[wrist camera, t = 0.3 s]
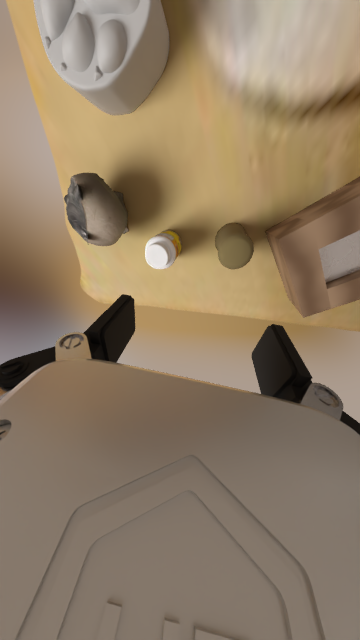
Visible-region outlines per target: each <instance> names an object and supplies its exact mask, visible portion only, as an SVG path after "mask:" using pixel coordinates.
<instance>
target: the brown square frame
mask: <svg viewBox="0 0 360 640" xmlns="http://www.w3.org/2000/svg"><path fill="white" fill-rule="evenodd" d="M359 230H360V177H358V178H357V179H355V180H353V181H352V182H350V183H348V184H346V185H345V186H343V187H341V188H340V189H338V190H336V191H334V192H333V193H331V194H329V195H327V196H326V197H324V198H322V199H321V200H319V201H317V202H315V203H314V204H312V205H310V206H308V207H307V208H305V209H303V210H302V211H300V212H298V213H296V214H295V215H293V216H291V217H289V218H288V219H286V220H284V221H283V222H281V223H279V224H277V225H276V226H274V227H272V228H270V229H269V230H267V231H265V232H266V235H267V238H268V241H269V244H270V247H271V250H272V252H273V255H274V258H275V261H276V264H277V267H278V270H279V273H280V276H281V278H282V281H283V284H284V287H285V290H286V293H287V296H288V298H289V299H290V301H291V302H292V303H293V305H294V306H295V307H296V309H297V310H298V311H299V312H300V314H301V315H302V316H303V318H304V317H307V316H310V315H313V314H316V313H319V312H322V311H325V310H328V309H332V308H335V307H338V306H341V305H344V304H347V303H350V302H353V301H356V300H359V299H360V270H358V271H355V272H352V273H350V274H347V275H345V276H342V277H339V278H337V279H334V280H332V281H329V282H327V283H326V282H325V277H324V272H323V268H322V263H321V258H320V254H319V249H321V248H323V247H325V246H327V245H329V244H331V243H334V242H336V241H338V240H340V239H342V238H344V237H346V236H348V235H351V234H353V233H355V232H357V231H359Z"/></svg>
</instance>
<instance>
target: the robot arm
mask: <svg viewBox="0 0 360 640" xmlns="http://www.w3.org/2000/svg"><path fill="white" fill-rule="evenodd" d="M134 331H135V310H134V299H133V298H132V297H131V296H129V295H124V294H122V295H121V296H120V297H119V298H118V299H117V300H116V301H115V302H114V303H113V304H112V306H110V308H109V309H108V310H106V311H105V312H104V313H103V314H102V315H101V316H100V317H99V318H98V319H97V320H96V321H95V322H94V323H93V324H92V325H91V326H90V327H89V328H88V329H87V330H86V331H85V332H84V333H80V332H73V333H68V334H65V335H63V336H62V337H60V338H59V339H58V340H57V341H56V345H55V347H52V348H48V349H45V350H42V351H38V352H35V353H31V354H28V355H24V356H21V357H18V358H15V359H11V360H9V361H7V362H5V363H3V364H1V365H0V640H360V423H358V422H357V421H356V420H354V419H353V418H352V417H350V416H349V415H348V414H346V413H345V412H344V411H342V410H343V403H342V401H341V399H340V398H339V397H338V395H337V394H336V393H335V392H333V391H332V390H331V389H330V388H328V387H326V386H325V385H322V384H320V383H312V381H311V378H312V376H311V375H310V373H309V371H308V369H307V368H306V366H305V364H304V363H303V361H302V359H301V357H300V356H299V354H298V352H297V350H296V349H295V347H294V345H293V343H292V342H291V340H290V338H289V337H288V335H287V333H286V331H285V330H284V328H283V326H280V325H275V324H272V325H271V326H268V327H267V329H266V330H265V332H264V334H263V335H262V337H261V339H260V340H259V342H258V344H257V345H256V347H255V349H254V351H253V352H252V360H253V364H254V368H255V372H256V376H257V379H258V383H259V387H260V390H261V394H258V393H253V392H249V391H245V390H240V389H236V388H232V387H227V386H223V385H218V384H214V383H209V382H205V381H200V380H195V379H191V378H186V377H181V376H177V375H172V374H168V373H163V372H159V371H154V370H149V369H144V368H139V367H135V366H130V365H125V364H120V363H116V362H117V360H118V359H119V357H120V355H121V354H122V352H123V350H124V349H125V347H126V345H127V344H128V342H129V340H130V339H131V337H132V335H133V334H134Z"/></svg>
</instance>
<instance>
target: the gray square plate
mask: <svg viewBox="0 0 360 640" xmlns="http://www.w3.org/2000/svg"><path fill="white" fill-rule="evenodd" d="M319 254H320V258H321V263H322V268H323V272H324V277H325V282H326V283H327V282H329V281H332V280H334V279H337V278H339V277H342V276H345V275H347V274H350V273H352V272H355V271H358V270H360V230H359V231H357V232H355V233H353V234H351V235H348V236H346V237H344V238H342V239H340V240H338V241H336V242H334V243H331V244H329V245H327V246H325V247H323V248H321V249H319Z"/></svg>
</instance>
